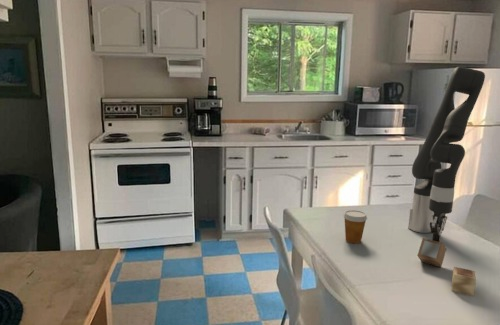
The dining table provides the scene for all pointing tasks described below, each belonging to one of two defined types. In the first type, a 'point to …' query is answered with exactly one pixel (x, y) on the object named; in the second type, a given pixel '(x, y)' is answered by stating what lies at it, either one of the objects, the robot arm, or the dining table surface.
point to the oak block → (463, 281)
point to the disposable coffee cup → (354, 225)
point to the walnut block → (432, 252)
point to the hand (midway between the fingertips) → (435, 243)
